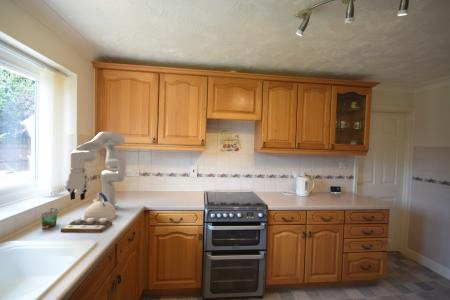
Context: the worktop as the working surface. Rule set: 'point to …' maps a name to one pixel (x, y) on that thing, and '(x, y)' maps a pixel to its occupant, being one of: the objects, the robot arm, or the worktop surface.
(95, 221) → the button board
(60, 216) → the worktop surface
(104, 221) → the button
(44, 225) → the food container
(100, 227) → the pattern card
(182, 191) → the worktop surface
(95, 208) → the kettle
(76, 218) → the button
